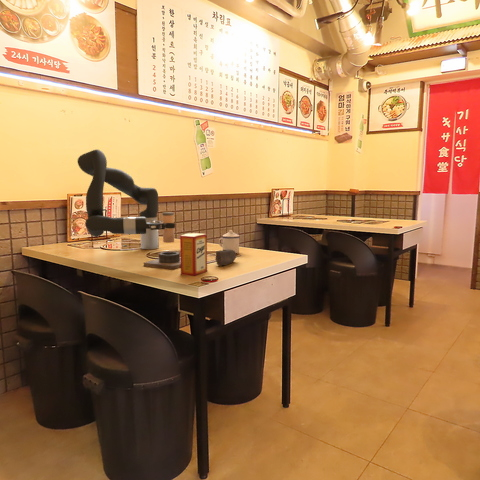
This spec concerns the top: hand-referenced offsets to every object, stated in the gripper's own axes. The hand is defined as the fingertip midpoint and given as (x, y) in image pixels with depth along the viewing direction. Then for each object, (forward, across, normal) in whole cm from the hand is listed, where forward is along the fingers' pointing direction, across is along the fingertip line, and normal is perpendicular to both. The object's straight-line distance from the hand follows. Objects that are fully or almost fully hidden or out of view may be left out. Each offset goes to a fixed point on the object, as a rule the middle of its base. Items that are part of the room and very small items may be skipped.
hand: (174, 224), depth 176 cm
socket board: (-2, 0, +18) cm, 18 cm away
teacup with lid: (+29, +25, +18) cm, 42 cm away
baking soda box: (+7, -18, +18) cm, 27 cm away
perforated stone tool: (+23, -4, +18) cm, 29 cm away
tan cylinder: (-3, 0, +8) cm, 8 cm away
